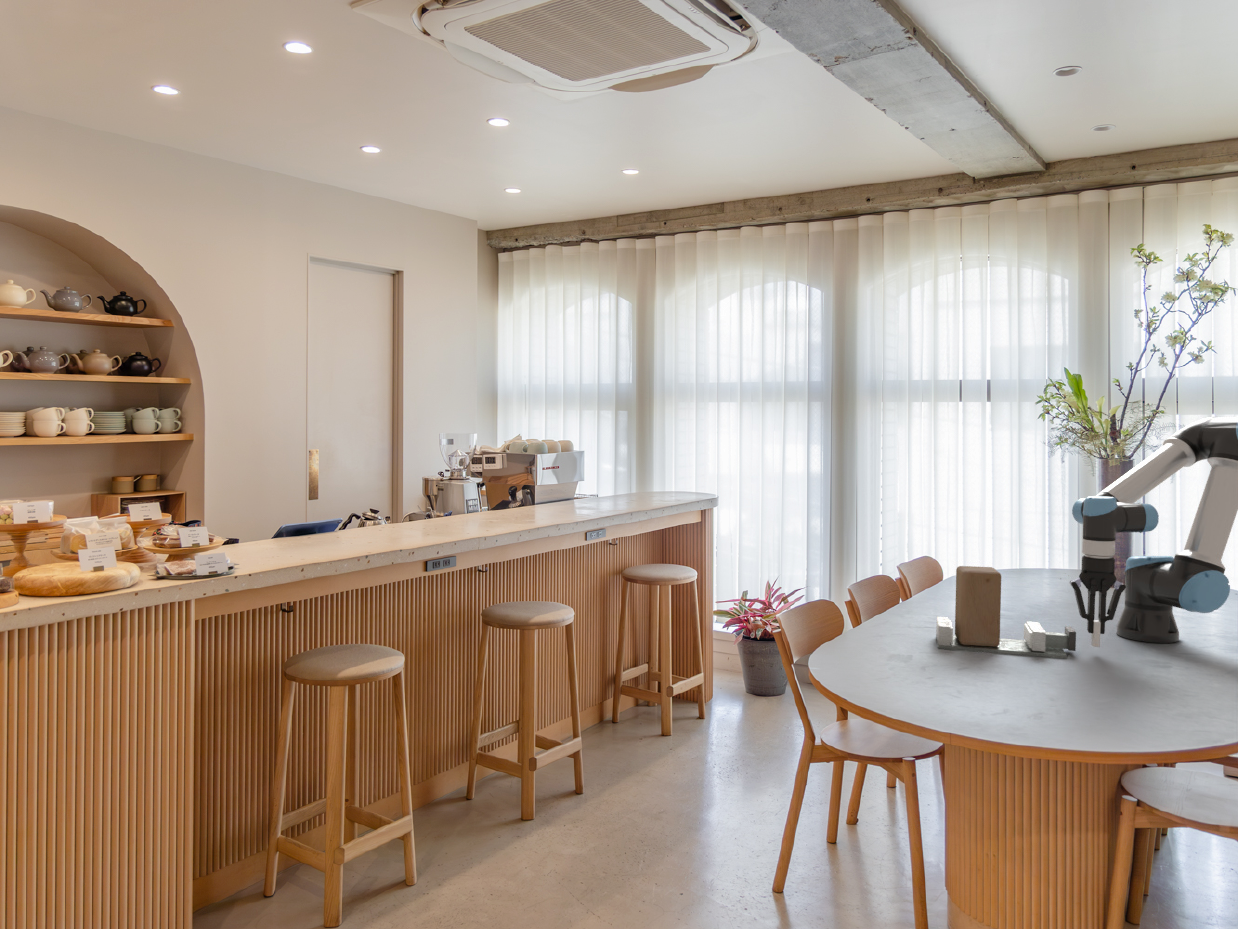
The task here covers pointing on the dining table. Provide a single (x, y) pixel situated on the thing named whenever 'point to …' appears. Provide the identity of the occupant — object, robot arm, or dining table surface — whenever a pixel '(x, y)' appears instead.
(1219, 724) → the dining table surface
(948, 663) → the dining table surface
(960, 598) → the wooden block
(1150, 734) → the dining table surface
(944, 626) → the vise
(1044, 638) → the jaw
